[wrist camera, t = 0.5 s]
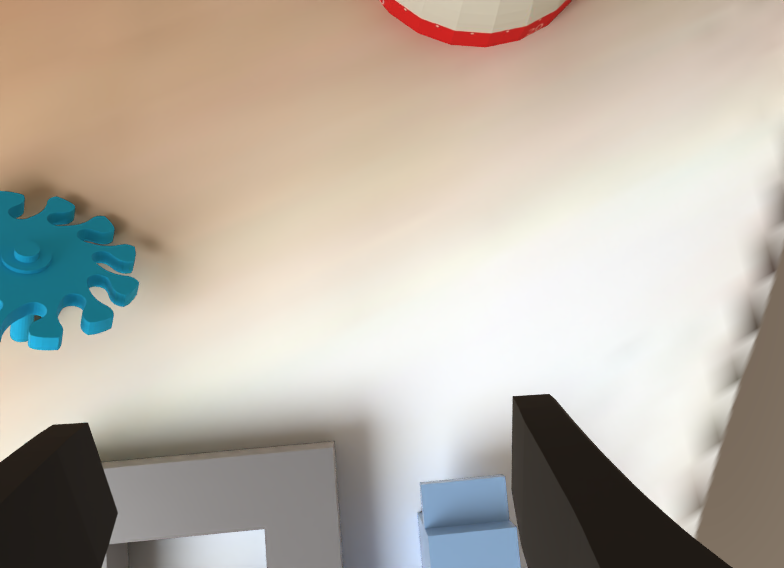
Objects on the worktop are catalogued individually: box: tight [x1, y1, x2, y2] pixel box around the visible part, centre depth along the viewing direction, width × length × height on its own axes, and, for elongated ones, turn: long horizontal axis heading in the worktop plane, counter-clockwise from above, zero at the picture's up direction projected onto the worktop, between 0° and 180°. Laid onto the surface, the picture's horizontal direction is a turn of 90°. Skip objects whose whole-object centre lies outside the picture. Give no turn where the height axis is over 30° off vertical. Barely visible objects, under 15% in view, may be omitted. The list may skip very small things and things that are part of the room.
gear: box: [0, 191, 139, 350], centre depth 33 cm, size 11×6×10 cm
